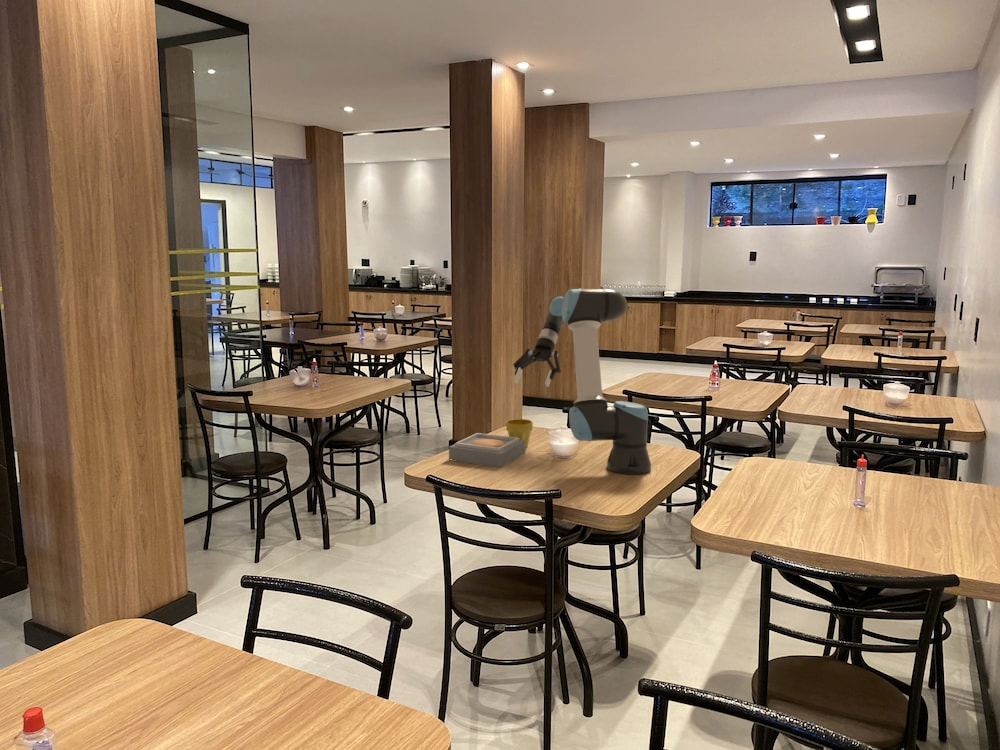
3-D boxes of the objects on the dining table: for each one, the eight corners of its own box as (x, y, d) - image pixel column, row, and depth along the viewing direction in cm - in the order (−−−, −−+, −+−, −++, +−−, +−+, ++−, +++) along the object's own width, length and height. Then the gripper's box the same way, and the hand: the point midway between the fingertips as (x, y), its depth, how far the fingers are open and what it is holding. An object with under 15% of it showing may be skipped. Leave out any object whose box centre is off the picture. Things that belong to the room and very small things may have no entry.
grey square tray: (525, 453, 273) (525, 437, 272) (501, 467, 254) (501, 450, 253) (475, 447, 282) (475, 431, 281) (449, 460, 263) (448, 443, 262)
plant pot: (502, 448, 281) (502, 423, 279) (510, 441, 291) (510, 417, 289) (528, 450, 278) (528, 425, 276) (535, 443, 288) (535, 419, 286)
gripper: (577, 350, 298) (562, 391, 287) (521, 346, 309) (505, 386, 299) (572, 338, 293) (557, 380, 282) (516, 334, 304) (500, 375, 293)
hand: (531, 383), depth 290 cm, fingers open, 13 cm apart
